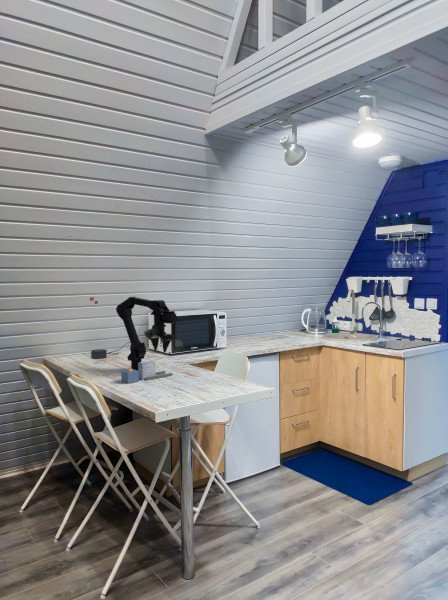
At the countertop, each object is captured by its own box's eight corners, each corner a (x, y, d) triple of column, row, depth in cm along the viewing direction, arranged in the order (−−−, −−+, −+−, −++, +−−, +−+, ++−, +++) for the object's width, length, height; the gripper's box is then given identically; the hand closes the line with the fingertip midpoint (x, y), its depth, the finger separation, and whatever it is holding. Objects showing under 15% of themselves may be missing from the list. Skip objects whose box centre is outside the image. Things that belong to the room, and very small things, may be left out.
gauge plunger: (127, 376, 229) (126, 369, 228) (130, 376, 230) (130, 368, 230) (129, 377, 227) (128, 369, 227) (133, 376, 228) (132, 369, 228)
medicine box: (151, 376, 239) (151, 360, 239) (155, 377, 236) (155, 361, 236) (138, 378, 234) (137, 362, 234) (142, 380, 231) (142, 363, 230)
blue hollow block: (121, 381, 229) (121, 370, 229) (132, 379, 233) (131, 368, 233) (128, 383, 224) (127, 372, 224) (138, 381, 228) (138, 370, 228)
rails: (138, 377, 236) (138, 375, 236) (163, 373, 247) (163, 371, 247) (146, 380, 230) (146, 378, 230) (172, 375, 240) (172, 373, 240)
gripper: (137, 323, 248) (138, 351, 249) (155, 325, 234) (156, 355, 234) (155, 321, 255) (155, 348, 256) (173, 323, 241) (174, 352, 242)
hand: (160, 351), depth 247 cm, fingers open, 9 cm apart
